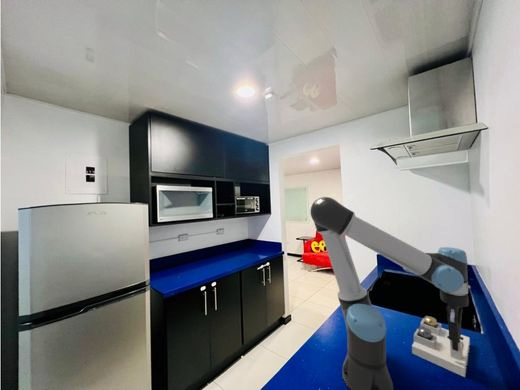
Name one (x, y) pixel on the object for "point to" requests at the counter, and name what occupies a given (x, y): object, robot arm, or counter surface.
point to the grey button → (425, 333)
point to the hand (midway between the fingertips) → (456, 357)
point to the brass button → (430, 321)
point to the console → (440, 349)
